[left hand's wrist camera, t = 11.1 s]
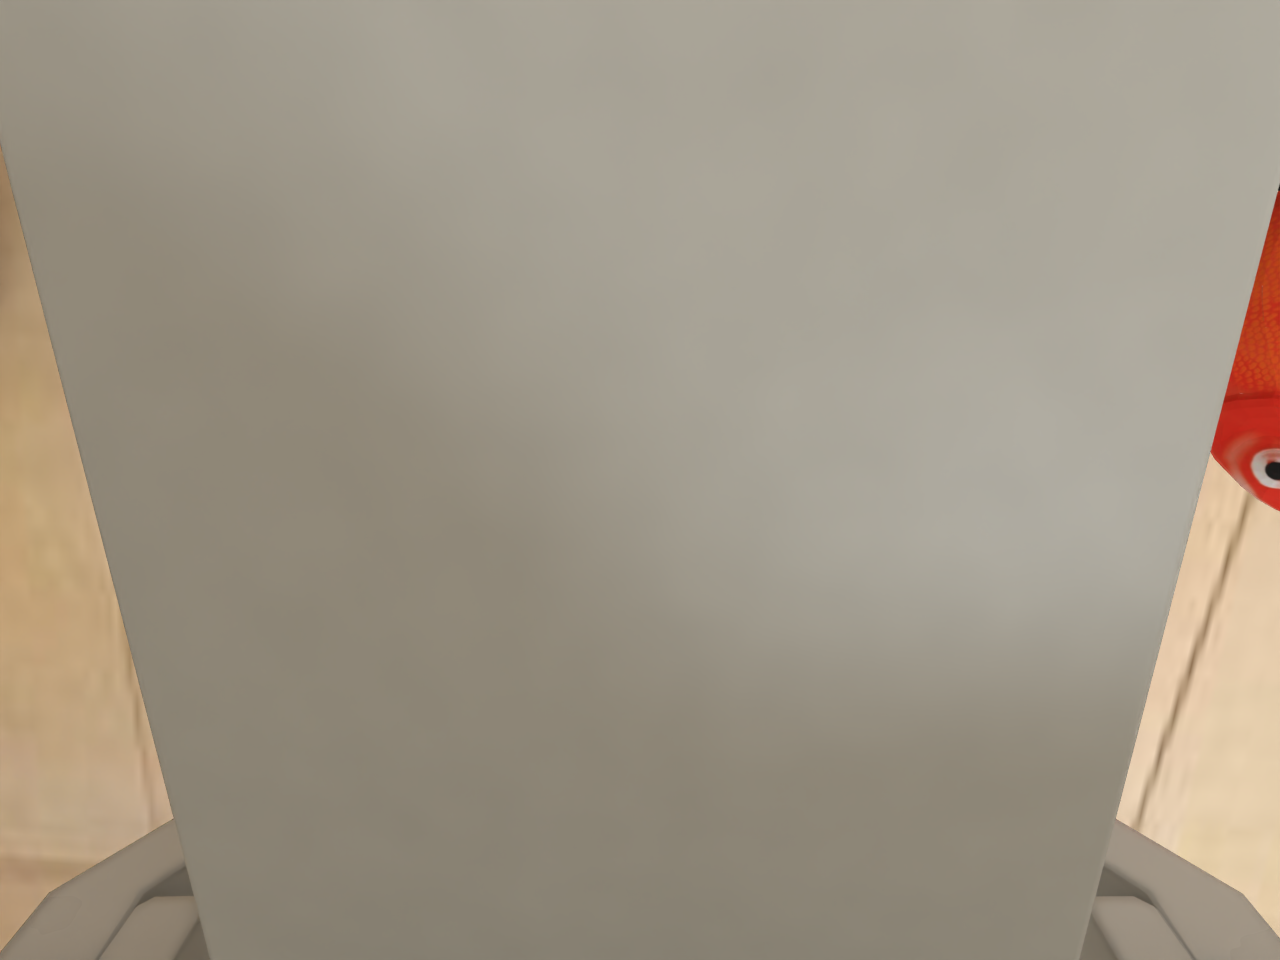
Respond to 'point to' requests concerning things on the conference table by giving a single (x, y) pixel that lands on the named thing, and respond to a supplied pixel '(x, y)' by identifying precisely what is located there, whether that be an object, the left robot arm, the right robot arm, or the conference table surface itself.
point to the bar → (643, 447)
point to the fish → (1256, 385)
